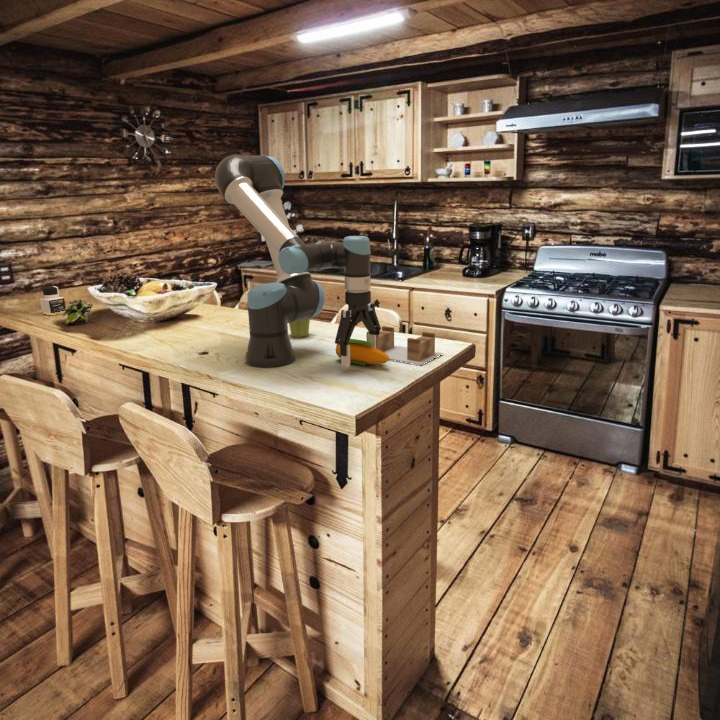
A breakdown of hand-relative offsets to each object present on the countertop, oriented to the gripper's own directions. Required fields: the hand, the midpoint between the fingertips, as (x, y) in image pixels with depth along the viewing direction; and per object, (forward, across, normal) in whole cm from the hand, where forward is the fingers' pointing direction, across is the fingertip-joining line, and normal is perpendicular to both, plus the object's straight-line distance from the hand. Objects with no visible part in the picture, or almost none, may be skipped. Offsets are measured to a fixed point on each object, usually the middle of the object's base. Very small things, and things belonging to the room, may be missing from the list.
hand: (359, 360), depth 182 cm
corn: (+2, +2, 0) cm, 2 cm away
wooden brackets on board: (+1, +16, -5) cm, 16 cm away
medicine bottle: (+1, -8, +157) cm, 157 cm away
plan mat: (+1, +16, -5) cm, 16 cm away
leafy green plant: (+1, -12, +130) cm, 131 cm away
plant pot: (+1, +18, +39) cm, 43 cm away
